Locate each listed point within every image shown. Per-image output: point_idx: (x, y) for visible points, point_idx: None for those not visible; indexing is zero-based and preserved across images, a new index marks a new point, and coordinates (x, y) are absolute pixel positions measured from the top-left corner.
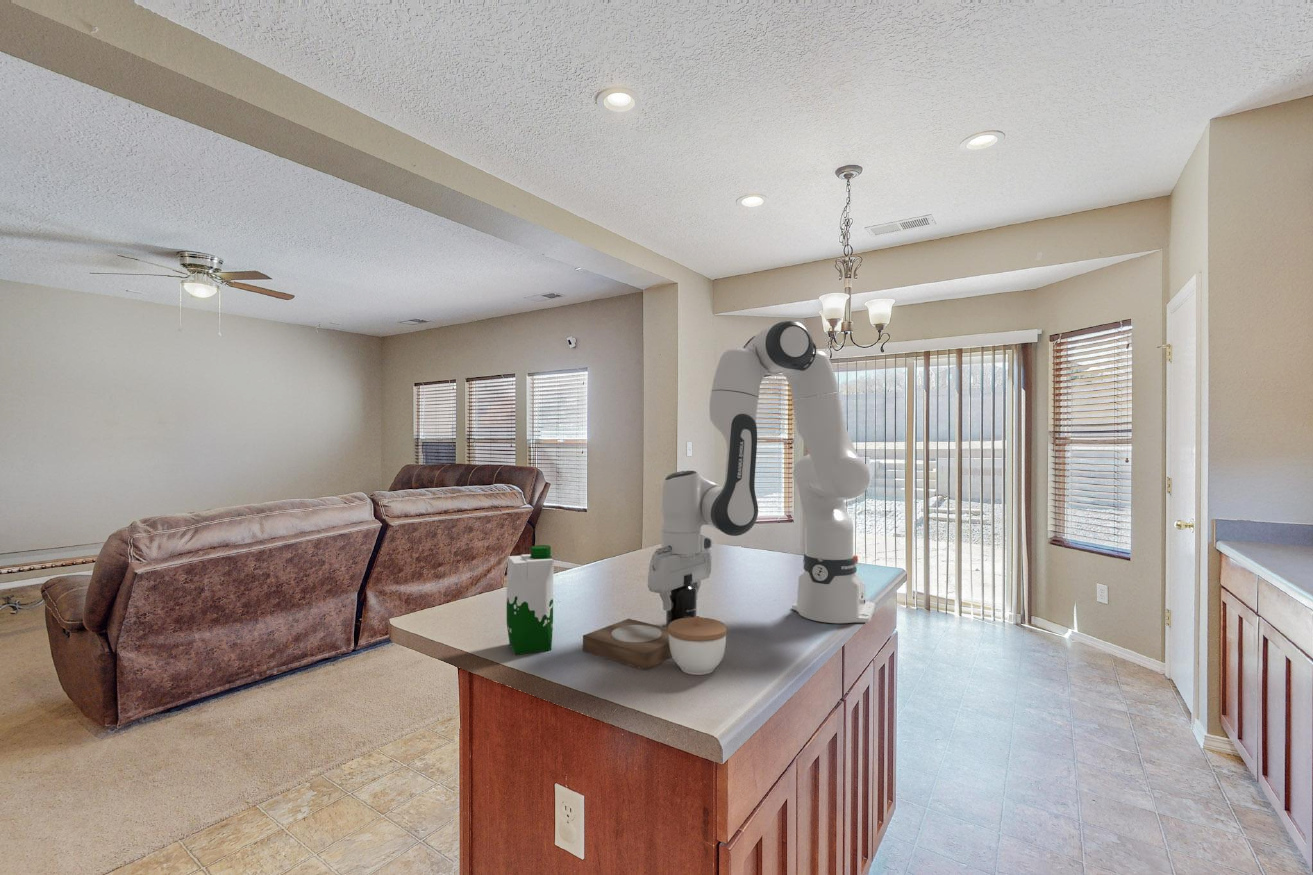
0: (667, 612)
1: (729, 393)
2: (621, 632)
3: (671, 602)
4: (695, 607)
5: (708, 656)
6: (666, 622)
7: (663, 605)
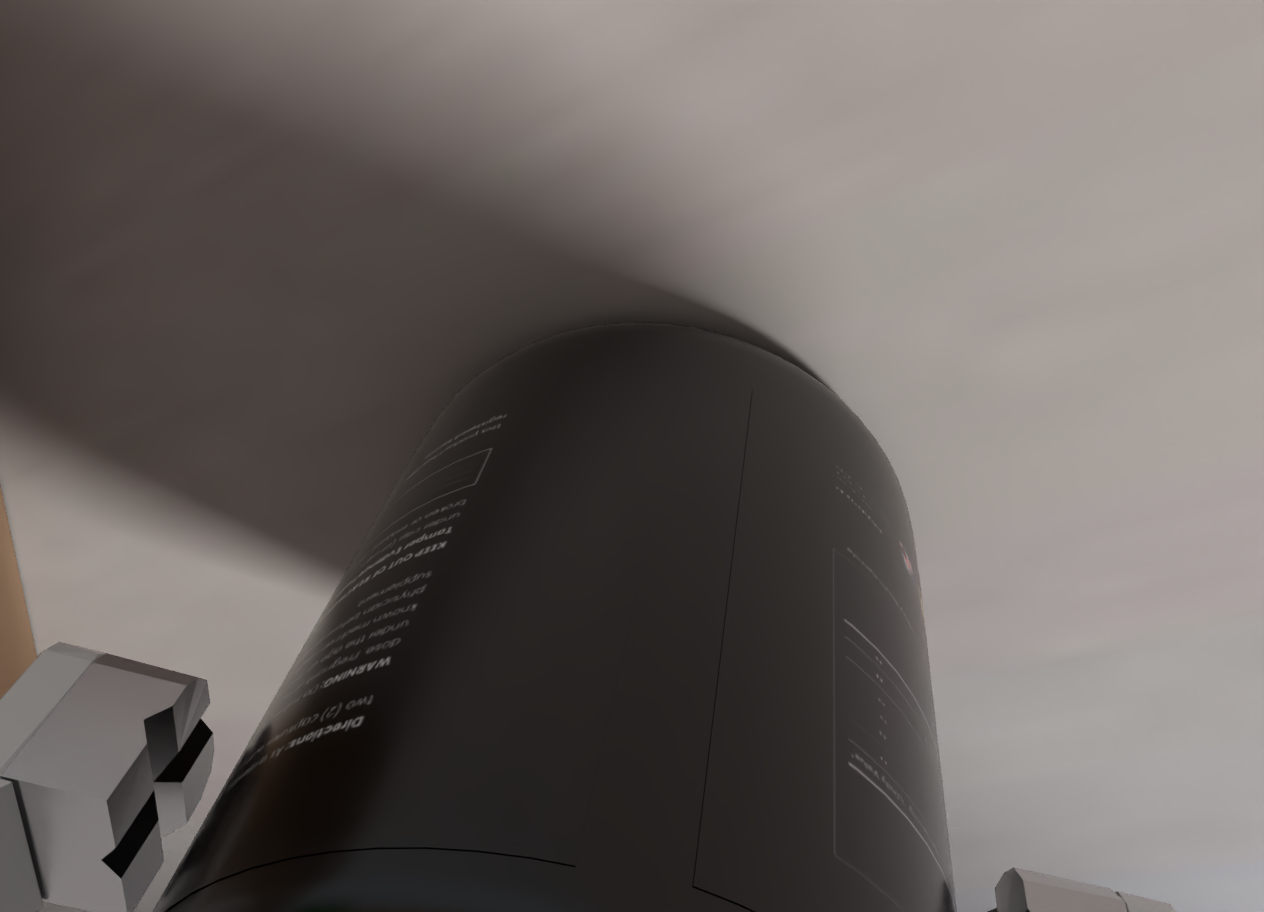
0: (364, 548)
1: None
2: None
3: (53, 900)
4: None
5: None
6: (469, 395)
7: (2, 704)
